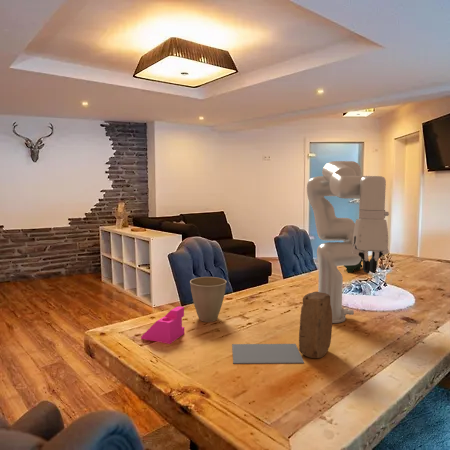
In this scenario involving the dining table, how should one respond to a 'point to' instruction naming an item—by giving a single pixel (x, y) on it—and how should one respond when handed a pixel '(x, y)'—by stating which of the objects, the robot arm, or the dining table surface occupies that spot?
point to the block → (315, 325)
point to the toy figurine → (354, 267)
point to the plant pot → (208, 297)
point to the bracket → (166, 327)
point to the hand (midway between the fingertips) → (369, 272)
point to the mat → (265, 353)
